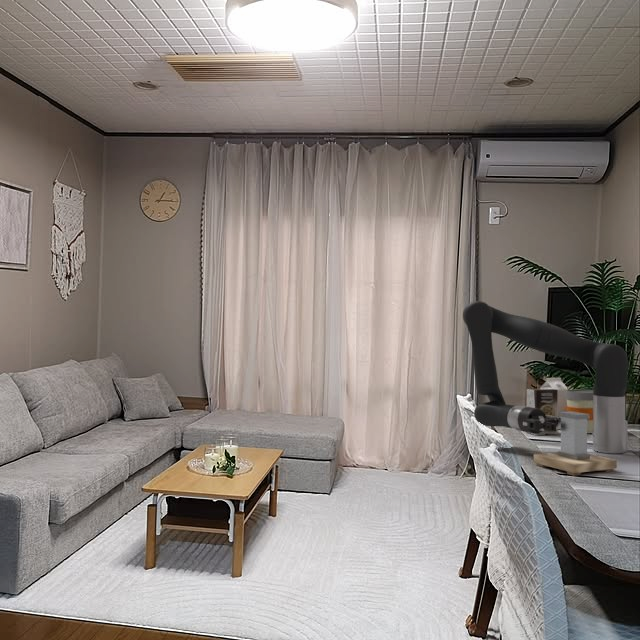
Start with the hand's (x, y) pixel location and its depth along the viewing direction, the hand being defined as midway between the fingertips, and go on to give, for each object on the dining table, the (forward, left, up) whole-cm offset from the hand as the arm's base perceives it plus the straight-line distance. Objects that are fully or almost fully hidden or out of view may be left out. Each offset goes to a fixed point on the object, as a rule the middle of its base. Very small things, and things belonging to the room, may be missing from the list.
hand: (567, 426), depth 190 cm
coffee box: (-34, -47, -11) cm, 59 cm away
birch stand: (0, +3, -11) cm, 11 cm away
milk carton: (-48, -56, -11) cm, 75 cm away
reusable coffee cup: (-51, -44, -11) cm, 68 cm away
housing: (0, +3, -8) cm, 8 cm away
